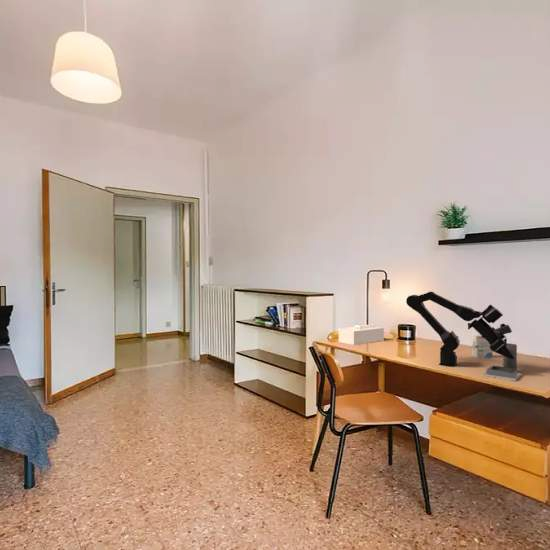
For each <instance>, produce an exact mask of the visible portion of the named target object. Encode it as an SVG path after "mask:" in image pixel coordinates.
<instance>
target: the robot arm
mask: <svg viewBox="0 0 550 550" xmlns="http://www.w3.org/2000/svg"><path fill="white" fill-rule="evenodd" d="M405 301H406V305H407V306H408V307H410V308H411V309H412V310H414V311H415V312H417V313H418V314H419V315H420V316H421V317H422V318H423V319H424V321H426V323H428V325H429V326H430V327H431V328H432V329H433V330H434V331H435V333H437V334H438V335H439V337H440V340H441V341H442V343H443V345H442V346H441V347H440V348H439V349H440V350H439V364H438V365H440V366H446V367H452V368H453V367H455V366H456V365H457V366H458V355H457V353H456V351H455V350H457V349H458V348H459V346H460V344H461V343H460V342H461V341H460V339H459V338H460V337H459V336H457V334H456V333H455V332H454V331H453V330H451V332H450V331H449V330H447V329H446V327H444V325H442V324H441V323H440V321H439V320H438V319H437V318H436V317H435V316H434V315H433V314H432V313H431V312H430V310H429V309H428V308H427V307H426V305H425V303H424V302H427V301H431V302H433V303H436V304H437V305H439V306H440V307H443V308H445V309H447V310H449V311H451V312H452V313H454V314H456V316H458V317H459V318H460V319H462V320H463V321H465V322H468V323H467V329H468V330H470V329H472V328H473V329H474V330H475V331H476V332H477V334H480V335H481V336H482V338H485V339H486V340H487V341H488V342H489V344H490V349H491V350H492V353H494V354H495V353H496V354H498V355H501V356H502V357H503V356H505V357H508V358H510V359H514V357H513V355H512V354H511V353H510V352H509V350H508V349H507V348H506V343H507V338H508V337H507V334H511V333H512V332H513V331H512V328H511V327H510V325H509V324H505V323H501V324H500V325H499V326H500V327H497V328H495V327H493V326H491V324H494V323H496V322H497V321H498V320H499V319H501V317H503V316H504V314H503V313H502V312H501V311H500V309H498V308H496V307H495V306H493V305H492V304H489V305H488V306H487V307H486V308H485V309H484V310H483V311H479V310H478V311H477V310H475V309H473V308H472V307H468V306H465V305H461V304H457V303H455V302H454V301H452V300H449V299H447V298H446V297H443V296H441V295H439V294H437V293H436V292H435V291H428V292H426V293H423V294H419V295H417V294H411V295H408V296H407V298H406V300H405Z"/></svg>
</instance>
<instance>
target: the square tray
mask: <svg viewBox="0 0 550 550" xmlns="http://www.w3.org/2000/svg"><path fill="white" fill-rule="evenodd" d="M521 375H522V373H521V372H518V368H509V367H503V365H502V366H501V365H494V364H493V365H490V366H489V367H488V368H487V369H486V371H485V372H483V373H482V377H485V376H489V377H488V378H491V377H496V378H495V379H498V378H501V379H500V380H504V379H506V381H511V380H513V381H512V382H516V381H517V380H518V379H519V378H520V377H521Z"/></svg>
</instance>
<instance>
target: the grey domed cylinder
mask: <svg viewBox="0 0 550 550" xmlns="http://www.w3.org/2000/svg"><path fill="white" fill-rule="evenodd" d="M506 348H507V349H508V350H509V352H510V353H511V354H512V355H513V357H514V359H510V358H508V357H505V356H503V355H502V367H509V368H517V366H518V365H517V363H518V362H517V361H518V359H517V358H518V357H517V356H518V354H517V353H518V350H517V349H518V345H517V344H515V343H506ZM517 369H518V368H517Z"/></svg>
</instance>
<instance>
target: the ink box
mask: <svg viewBox="0 0 550 550" xmlns="http://www.w3.org/2000/svg"><path fill="white" fill-rule="evenodd" d="M471 356H472V357H473V356H474V357H473V358H475V357H476V358H475V359H486V358H487V357H492V358H493V351H492V350H491V349H490V344H489V342H488V341H487V340H486V339H485V338H482V336H481V335H480V334H479V333H476V334H475V333H472V334H471ZM487 359H488V358H487Z"/></svg>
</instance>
